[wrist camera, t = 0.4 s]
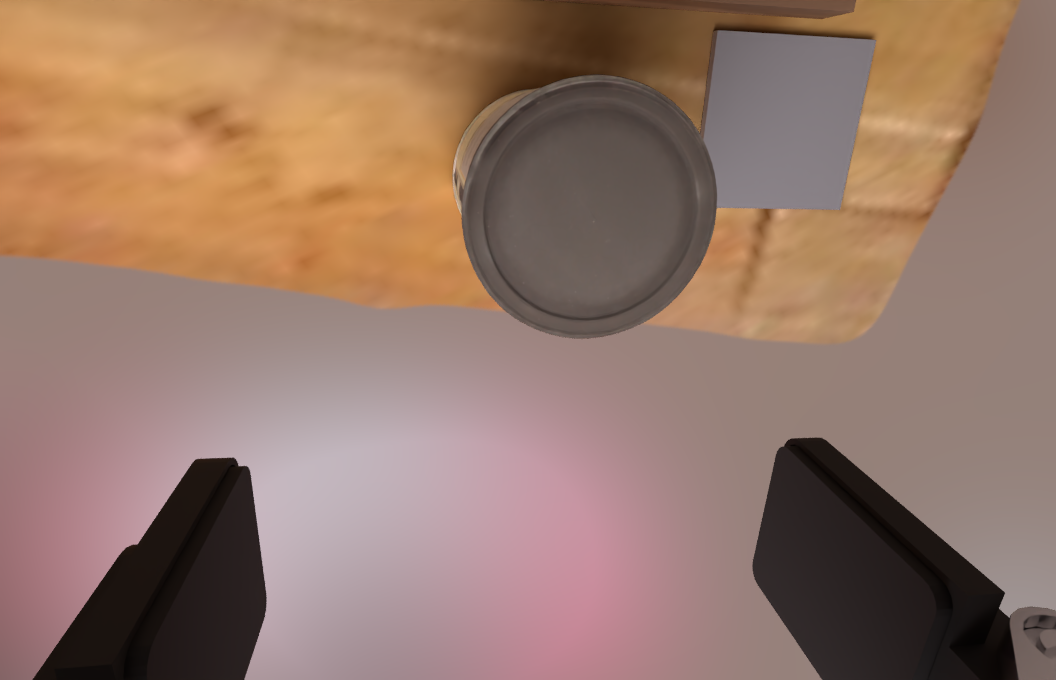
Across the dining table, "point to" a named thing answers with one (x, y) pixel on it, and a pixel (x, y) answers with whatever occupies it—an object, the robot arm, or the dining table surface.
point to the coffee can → (585, 203)
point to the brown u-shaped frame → (743, 6)
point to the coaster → (783, 117)
